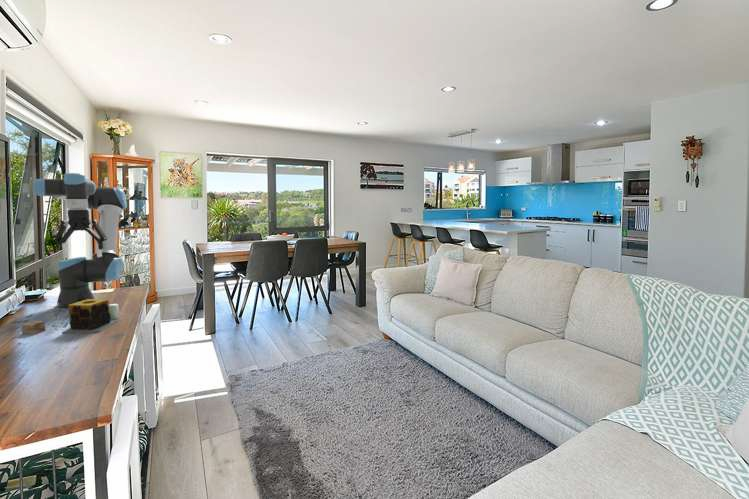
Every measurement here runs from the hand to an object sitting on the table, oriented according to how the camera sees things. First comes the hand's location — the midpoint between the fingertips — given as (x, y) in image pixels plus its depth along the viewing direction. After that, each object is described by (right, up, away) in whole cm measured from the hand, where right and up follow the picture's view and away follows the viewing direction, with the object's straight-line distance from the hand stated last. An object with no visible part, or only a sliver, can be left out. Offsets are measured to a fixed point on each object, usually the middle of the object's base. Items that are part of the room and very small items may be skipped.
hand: (83, 257), depth 179 cm
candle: (+13, -28, -13) cm, 33 cm away
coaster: (+13, -28, -13) cm, 34 cm away
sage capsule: (+14, -27, -1) cm, 30 cm away
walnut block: (-6, -30, -19) cm, 35 cm away
